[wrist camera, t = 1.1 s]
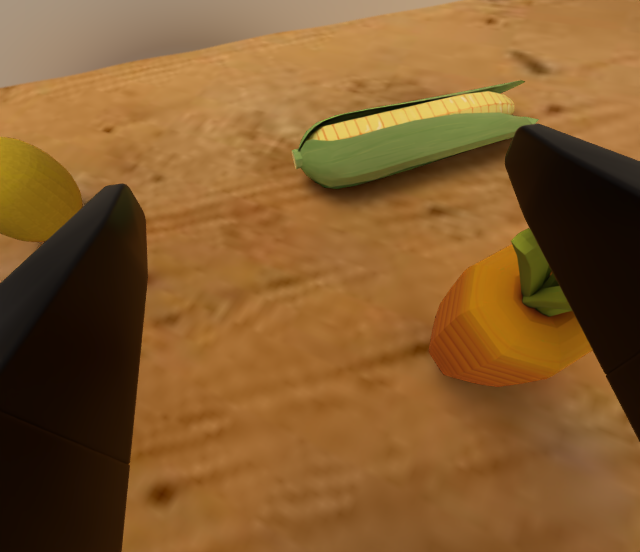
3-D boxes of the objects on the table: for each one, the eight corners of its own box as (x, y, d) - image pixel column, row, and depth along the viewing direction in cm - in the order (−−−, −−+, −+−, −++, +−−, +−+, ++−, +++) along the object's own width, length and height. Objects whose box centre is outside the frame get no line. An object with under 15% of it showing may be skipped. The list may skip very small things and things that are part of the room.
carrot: (387, 365, 23) (485, 258, 9) (431, 304, 24) (574, 133, 10) (457, 420, 21) (701, 396, 8) (499, 353, 23) (767, 231, 9)
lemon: (49, 276, 25) (-65, 211, 18) (12, 225, 27) (-106, 146, 19) (119, 227, 27) (41, 148, 19) (81, 181, 28) (-5, 92, 21)
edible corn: (287, 156, 29) (281, 109, 25) (520, 101, 31) (550, 49, 27) (305, 210, 27) (302, 169, 23) (551, 147, 29) (590, 99, 25)
